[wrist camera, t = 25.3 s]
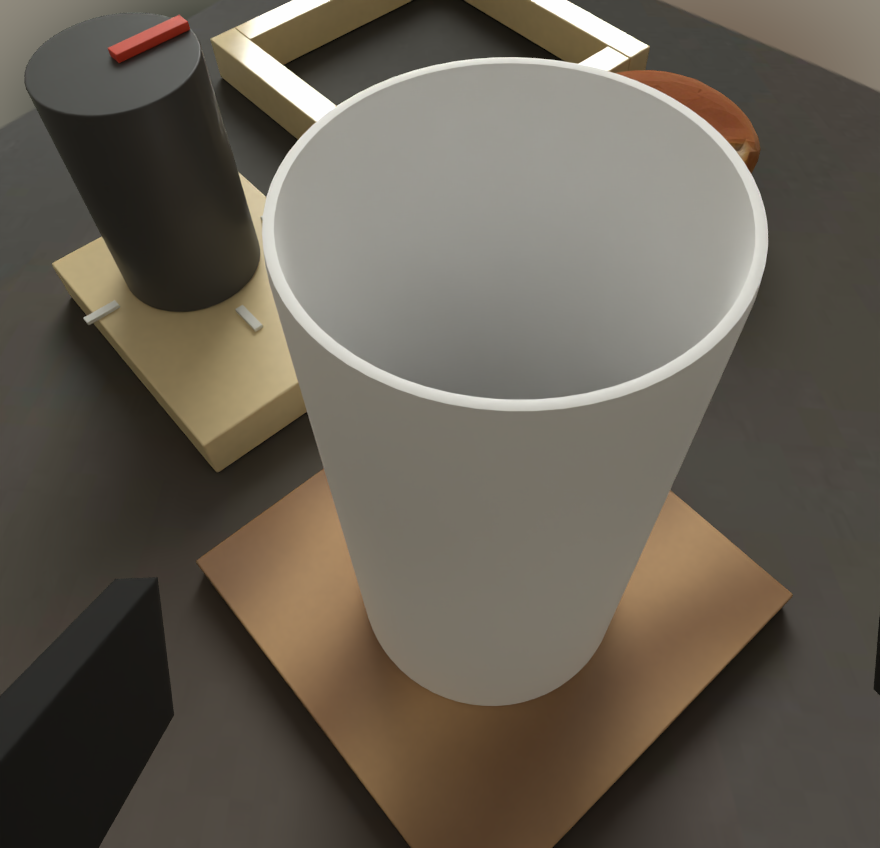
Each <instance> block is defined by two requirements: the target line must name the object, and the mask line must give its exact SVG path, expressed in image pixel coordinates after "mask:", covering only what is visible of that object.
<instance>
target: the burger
mask: <svg viewBox="0 0 880 848" xmlns="http://www.w3.org/2000/svg"><path fill="white" fill-rule="evenodd" d="M616 74H619V75H622V76H625V77H627V78H630V79H633V80H636V81H638V82H640V83H643V84H645V85H647V86H650V87H652V88H654V89H656V90H658V91H660V92H662V93H664V94H666V95H668V96H670V97H671V98H673V99H675V100H677V101H678V102H680V103H681V104H683V105H685V106H686V107H688V108H689V109H691V110H692V111H693V112H695V113H696V114H697V115H699V116H700V117H701V118H703V119H704V120H706V121H707V122H708V123H709V124H710V125H711V126H712V127H713V128H715V129H716V130H717V131H718V132H719V133H720V134H721V135H722V136H723V137H724V138H725V139H726V140H727V141H728V143H729V144H730V145H731V146H732V147H733V148H734V149H735V151H736V152H737V153H738V155H739V156H740V157H741V159H742V160H743V161H744V163H745V165H746V166H747V168H748V170H749V171H750V173H752V171H753V169H754V167H755V165H756V163H757V161H758V158H759V154H760V144H759V139H758V136H757V134H756V132H755V130H754V128H753V126H752V124H751V122H750V120H749V119H748V118H747V116H746V115H745V114H744V113H743V112H742V110H741V109H740V108H739V107H738V106H737V105H735V104H734V103H733V102H732V101H731V100H730V99H728V98H727V97H726V96H724V95H723V94H721V93H720V92H718V91H716V90H715V89H713V88H711V87H709V86H707V85H705V84H703V83H702V82H700V81H698V80H696V79H693V78H689V77H686V76H682V75H678V74H674V73H670V72H663V71H653V70H633V71H623V72H618V73H616Z"/></svg>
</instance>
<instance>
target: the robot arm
mask: <svg viewBox="0 0 880 848" xmlns="http://www.w3.org/2000/svg"><path fill="white" fill-rule="evenodd" d="M874 690H875V691H876V692H877V693H878V694H879V695H880V618H879V630H878V642H877V655H876V667H875V679H874ZM173 716H174V711H173V703H172V694H171V686H170V678H169V669H168V661H167V653H166V644H165V636H164V628H163V619H162V611H161V603H160V594H159V586H158V578H157V577H156V578H129V579H115V580H114V581H113V582H112V583H111V584H110V585H109V586H108V587H107V588H106V589H105V590H104V591H103V592H102V593H101V594H100V595H99V596H98V597H97V598H96V599H95V600H94V601H93V602H92V603H91V604H90V605H89V606H88V607H87V608H86V609H85V610H84V611H83V612H82V613H81V614H80V615H79V616H78V617H77V618H76V619H75V620H74V621H73V622H72V623H71V625H70V626H69V627H68V628H67V629H66V630H65V631H64V632H63V633H62V634H61V635H60V636H59V637H58V638H57V639H56V640H55V641H54V642H53V643H52V644H51V645H50V646H49V647H48V648H47V649H46V650H45V651H44V652H43V653H42V654H41V655H40V656H39V657H38V658H37V659H36V660H35V661H34V662H33V663H32V664H31V665H30V666H29V667H28V668H27V669H26V670H25V671H24V672H23V673H22V674H21V675H20V676H19V677H18V678H17V679H16V680H15V681H14V682H13V683H12V685H11V686H10V687H9V688H8V689H7V690H6V691H5V692H4V693H3V694H2V695H1V696H0V848H99V846H100V844H101V843H102V841H103V839H104V837H105V835H106V834H107V832H108V830H109V828H110V827H111V825H112V823H113V821H114V820H115V818H116V816H117V814H118V813H119V811H120V809H121V807H122V806H123V804H124V802H125V800H126V799H127V797H128V795H129V793H130V791H131V790H132V788H133V786H134V784H135V783H136V781H137V779H138V777H139V776H140V774H141V772H142V770H143V769H144V767H145V765H146V763H147V762H148V760H149V758H150V756H151V754H152V753H153V751H154V749H155V747H156V746H157V744H158V742H159V740H160V739H161V737H162V735H163V733H164V732H165V730H166V728H167V726H168V725H169V723H170V721H171V719H172V718H173Z"/></svg>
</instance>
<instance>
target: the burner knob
mask: <svg viewBox="0 0 880 848" xmlns="http://www.w3.org/2000/svg"><path fill="white" fill-rule="evenodd" d="M25 86H26V90H27V91H28V93H29V95H30V97H31V99H32V101H33V103H34V105H35V107H36V109H37V111H38V113H39V115H40V117H41V119H42V121H43V123H44V125H45V126H46V128H47V130H48V132H49V134H50V136H51V138H52V140H53V142H54V144H55V146H56V148H57V150H58V152H59V154H60V156H61V158H62V160H63V161H64V163H65V165H66V167H67V169H68V171H69V173H70V175H71V177H72V179H73V181H74V183H75V185H76V187H77V189H78V191H79V193H80V195H81V197H82V198H83V200H84V202H85V204H86V206H87V208H88V210H89V212H90V214H91V216H92V218H93V220H94V222H95V224H96V226H97V228H98V230H99V232H100V233H101V235H102V237H103V239H104V241H105V243H106V245H107V247H108V249H109V251H110V253H111V255H112V257H113V259H114V261H115V263H116V265H117V267H118V268H119V270H120V272H121V274H122V276H123V278H124V280H125V282H126V284H127V286H128V288H129V290H130V291H131V292H132V294H133V295H134V296H135V297H136V298H137V299H139V300H140V301H142V302H143V303H145V304H147V305H149V306H151V307H153V308H156V309H160V310H165V311H172V312H188V311H196V310H201V309H205V308H208V307H211V306H214V305H217V304H219V303H221V302H223V301H225V300H227V299H229V298H231V297H232V296H233V295H235V294H236V293H238V292H239V291H240V290H241V289H242V288H243V287H245V285H246V284H247V283H248V282H249V281H250V280H251V278H252V277H253V275H254V273H255V272H256V270H257V267H258V264H259V261H260V246H259V241H258V238H257V235H256V231H255V228H254V224H253V221H252V218H251V214H250V211H249V207H248V204H247V201H246V197H245V194H244V190H243V187H242V184H241V180H240V177H239V173H238V170H237V167H236V163H235V160H234V156H233V153H232V150H231V146H230V143H229V139H228V136H227V133H226V129H225V126H224V122H223V119H222V116H221V112H220V109H219V105H218V102H217V99H216V95H215V92H214V88H213V85H212V82H211V78H210V75H209V72H208V68H207V65H206V61H205V58H204V55H203V51H202V48H201V44H200V42H199V40H198V38H197V36H196V35H195V34H194V32H193V31H192V30H191V29H190V27H189V24H188V21H186V20H185V19H184V18H182V17H181V16H180V15H178V16H176V17H174V18H169V17H166V16H162V15H157V14H150V13H119V14H112V15H106V16H101V17H97V18H93V19H90V20H87V21H84V22H81V23H78V24H76V25H73V26H71V27H69V28H67V29H65V30H63V31H61V32H59V33H58V34H56V35H54V36H53V37H52V38H50V39H49V40H47V41H46V42H45V43H44V44H43V45H42V46H40V47H39V48H38V50H37V51H36V52H35V53H34V54H33V56H32V57H31V59H30V60H29V62H28V64H27V67H26V70H25Z"/></svg>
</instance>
